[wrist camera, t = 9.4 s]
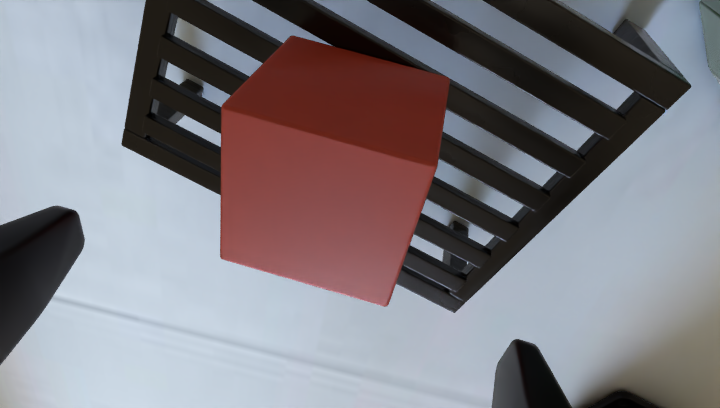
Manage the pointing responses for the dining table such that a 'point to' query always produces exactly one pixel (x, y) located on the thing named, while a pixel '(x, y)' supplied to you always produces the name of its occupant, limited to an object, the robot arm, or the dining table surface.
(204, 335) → the dining table surface
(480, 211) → the rack
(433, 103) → the block
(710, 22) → the bowl
